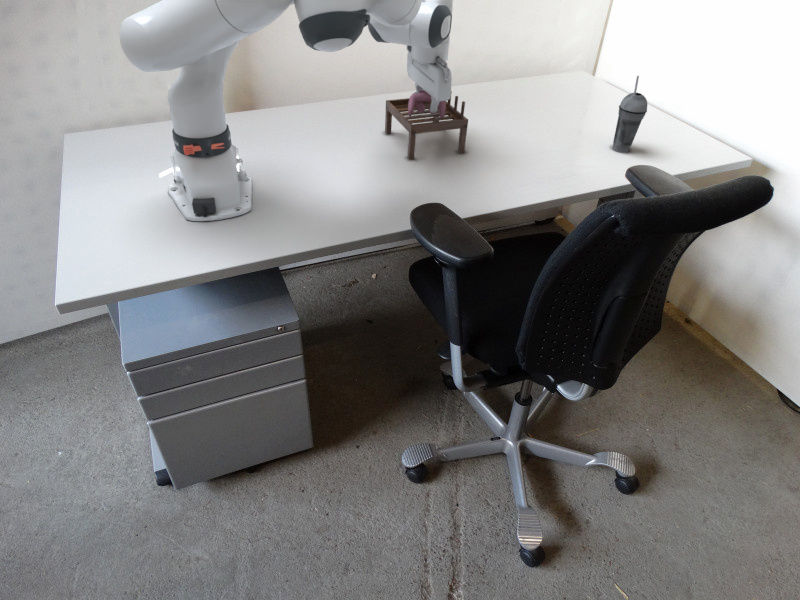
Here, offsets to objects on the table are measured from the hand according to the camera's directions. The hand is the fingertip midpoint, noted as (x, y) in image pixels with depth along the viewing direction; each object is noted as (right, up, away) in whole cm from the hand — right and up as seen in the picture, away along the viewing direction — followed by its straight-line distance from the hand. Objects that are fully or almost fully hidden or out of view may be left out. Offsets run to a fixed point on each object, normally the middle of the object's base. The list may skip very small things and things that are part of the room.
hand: (426, 106), depth 154 cm
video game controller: (0, -2, +1) cm, 2 cm away
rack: (0, -8, +7) cm, 10 cm away
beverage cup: (+55, -9, +10) cm, 56 cm away
